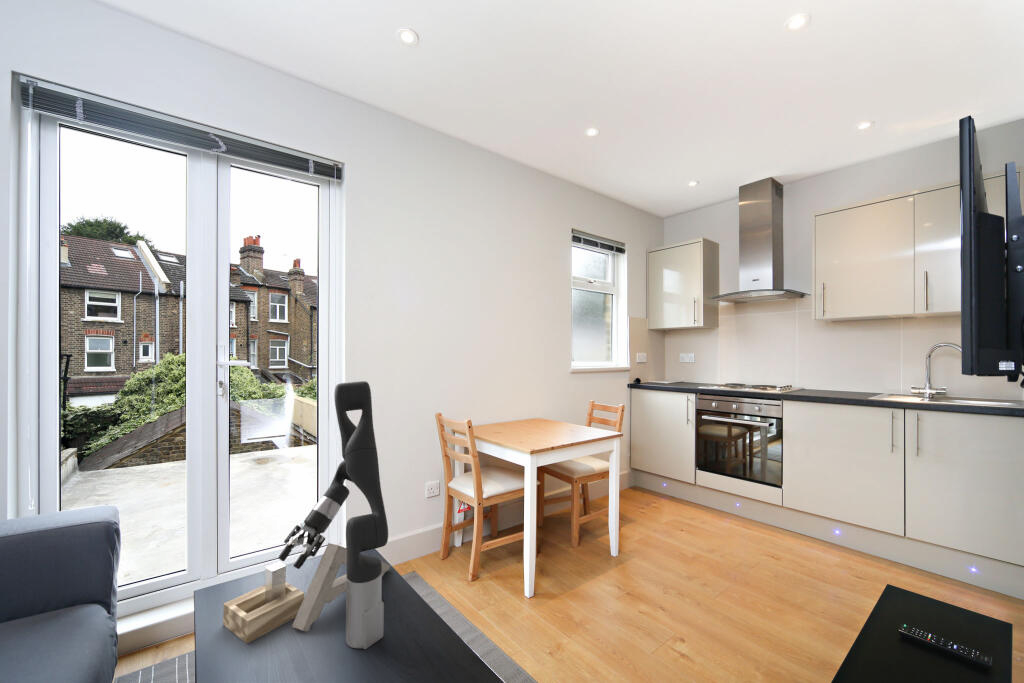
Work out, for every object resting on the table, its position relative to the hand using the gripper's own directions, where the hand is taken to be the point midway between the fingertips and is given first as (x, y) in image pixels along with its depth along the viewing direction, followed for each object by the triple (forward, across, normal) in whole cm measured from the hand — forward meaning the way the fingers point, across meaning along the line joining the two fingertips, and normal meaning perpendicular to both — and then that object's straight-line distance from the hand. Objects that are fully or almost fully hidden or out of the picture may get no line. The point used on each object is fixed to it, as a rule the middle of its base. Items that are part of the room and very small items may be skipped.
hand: (288, 563), depth 130 cm
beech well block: (+14, 0, +4) cm, 15 cm away
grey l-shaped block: (+13, 0, +4) cm, 14 cm away
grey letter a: (0, +11, +19) cm, 22 cm away
